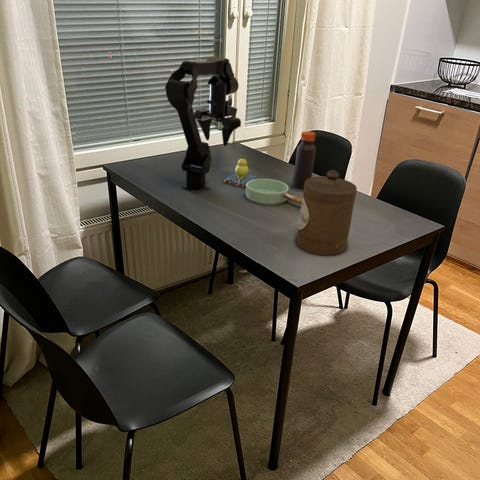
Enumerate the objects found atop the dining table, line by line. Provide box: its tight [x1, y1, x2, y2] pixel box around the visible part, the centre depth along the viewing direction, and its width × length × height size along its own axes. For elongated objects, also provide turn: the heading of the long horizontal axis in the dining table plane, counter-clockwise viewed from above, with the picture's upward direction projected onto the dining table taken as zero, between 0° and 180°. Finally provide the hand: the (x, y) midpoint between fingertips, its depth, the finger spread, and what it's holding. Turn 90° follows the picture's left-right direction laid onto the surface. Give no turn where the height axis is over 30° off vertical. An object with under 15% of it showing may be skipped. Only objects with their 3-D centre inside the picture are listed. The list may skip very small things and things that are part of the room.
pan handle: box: [283, 192, 303, 206], centre depth 166 cm, size 2×12×2 cm, turn 47°
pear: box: [234, 155, 250, 179], centre depth 182 cm, size 5×5×8 cm
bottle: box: [291, 131, 317, 191], centre depth 179 cm, size 7×7×20 cm
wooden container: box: [296, 169, 358, 256], centre depth 140 cm, size 15×15×22 cm
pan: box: [244, 178, 290, 205], centre depth 174 cm, size 15×15×4 cm
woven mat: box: [223, 171, 259, 188], centre depth 185 cm, size 10×11×2 cm
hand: (216, 142), depth 181 cm, fingers open, 9 cm apart
